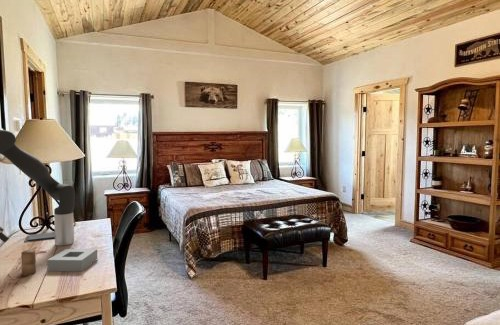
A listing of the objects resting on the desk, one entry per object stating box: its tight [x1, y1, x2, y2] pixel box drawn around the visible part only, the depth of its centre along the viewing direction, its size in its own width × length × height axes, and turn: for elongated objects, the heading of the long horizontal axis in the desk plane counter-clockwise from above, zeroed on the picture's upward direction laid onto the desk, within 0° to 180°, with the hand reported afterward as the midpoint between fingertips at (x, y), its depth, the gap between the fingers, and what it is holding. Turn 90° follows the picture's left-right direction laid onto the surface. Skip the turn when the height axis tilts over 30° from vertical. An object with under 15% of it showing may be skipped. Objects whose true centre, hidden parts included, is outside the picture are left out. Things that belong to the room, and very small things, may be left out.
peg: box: [20, 249, 37, 276], centre depth 141 cm, size 5×5×10 cm
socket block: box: [46, 248, 98, 272], centre depth 151 cm, size 15×15×5 cm
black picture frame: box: [23, 231, 55, 244], centre depth 194 cm, size 20×2×15 cm
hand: (1, 243), depth 138 cm, fingers open, 8 cm apart
